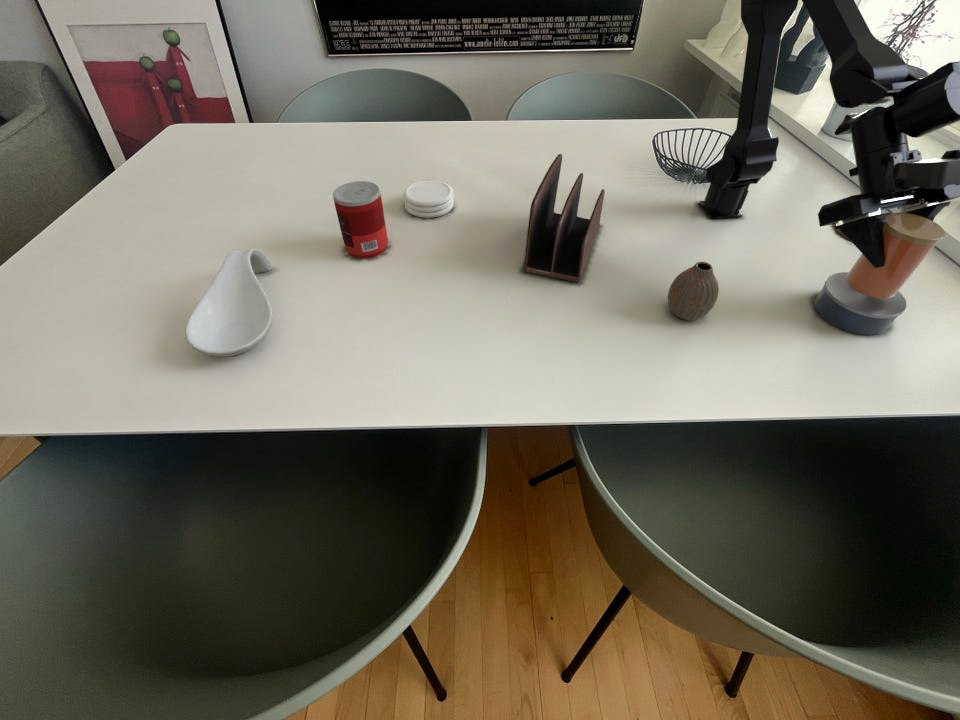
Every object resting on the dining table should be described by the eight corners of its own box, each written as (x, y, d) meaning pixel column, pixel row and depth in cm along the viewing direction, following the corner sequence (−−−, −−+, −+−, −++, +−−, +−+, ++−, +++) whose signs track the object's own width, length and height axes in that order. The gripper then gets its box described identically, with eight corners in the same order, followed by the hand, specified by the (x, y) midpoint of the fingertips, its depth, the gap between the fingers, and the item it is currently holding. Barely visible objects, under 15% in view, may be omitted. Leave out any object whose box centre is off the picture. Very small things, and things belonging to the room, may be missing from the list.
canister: (864, 301, 69) (909, 241, 62) (834, 272, 74) (873, 213, 67) (908, 297, 70) (958, 238, 63) (876, 269, 75) (919, 211, 67)
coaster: (396, 213, 97) (394, 197, 95) (418, 191, 104) (417, 175, 101) (441, 223, 94) (440, 206, 92) (461, 200, 101) (460, 184, 98)
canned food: (396, 241, 90) (388, 185, 82) (372, 264, 85) (361, 206, 77) (362, 232, 92) (351, 177, 84) (337, 253, 87) (322, 197, 79)
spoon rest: (274, 364, 68) (257, 326, 63) (186, 373, 66) (162, 336, 61) (292, 267, 84) (280, 231, 79) (222, 273, 83) (205, 237, 78)
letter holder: (522, 272, 83) (528, 196, 73) (549, 217, 96) (558, 146, 86) (579, 284, 81) (593, 207, 71) (599, 226, 94) (614, 153, 84)
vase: (710, 329, 73) (732, 283, 67) (664, 323, 74) (681, 277, 68) (705, 301, 78) (725, 255, 71) (661, 296, 79) (677, 250, 72)
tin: (840, 338, 72) (855, 318, 69) (799, 294, 79) (811, 274, 76) (906, 333, 73) (924, 313, 70) (859, 289, 80) (874, 269, 77)
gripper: (888, 133, 57) (909, 263, 58) (1004, 117, 61) (1022, 239, 62) (806, 169, 68) (825, 278, 69) (909, 154, 72) (925, 257, 72)
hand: (898, 263), depth 68 cm, fingers closed on canister, 6 cm apart
